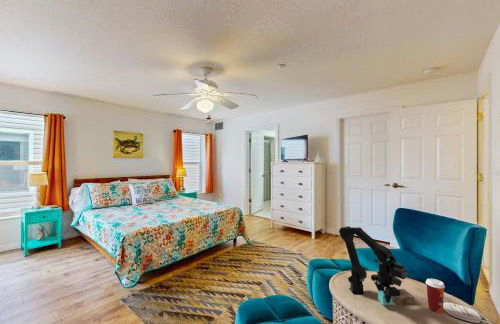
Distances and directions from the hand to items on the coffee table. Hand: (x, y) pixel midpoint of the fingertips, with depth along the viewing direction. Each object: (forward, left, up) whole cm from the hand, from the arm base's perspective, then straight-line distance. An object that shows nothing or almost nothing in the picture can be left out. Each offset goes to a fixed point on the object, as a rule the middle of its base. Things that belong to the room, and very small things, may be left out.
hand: (385, 300), depth 130 cm
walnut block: (+13, +6, -4) cm, 15 cm away
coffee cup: (+25, -4, -4) cm, 25 cm away
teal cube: (0, 0, -1) cm, 1 cm away
